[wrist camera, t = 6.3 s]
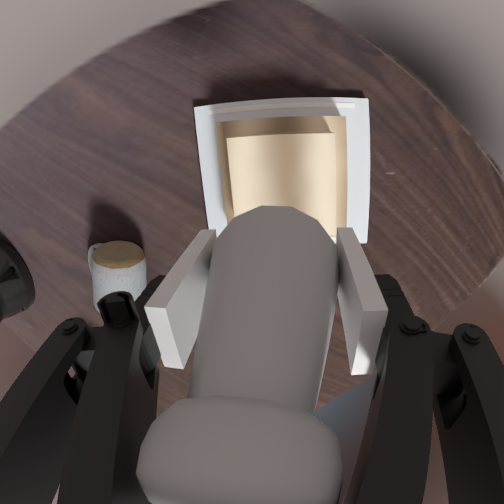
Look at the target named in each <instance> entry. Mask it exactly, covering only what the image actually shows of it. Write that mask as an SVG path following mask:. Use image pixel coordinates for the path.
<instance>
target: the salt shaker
mask: <svg viewBox="0 0 504 504" xmlns="http://www.w3.org/2000/svg"><path fill="white" fill-rule="evenodd" d="M339 279H340V265H339V255H338V247H337V245H336V244H335V243H334V241H333V240H332V239H331V237H330V236H329V235H328V233H327V232H326V231H325V229H324V228H323V227H322V225H321V224H320V223H319V221H318V220H317V219H315V218H313V217H311V216H309V215H307V214H305V213H303V212H301V211H300V210H298V209H296V208H294V207H292V206H264V205H261V206H259V207H257V208H254V209H252V210H250V211H247V212H245V213H243V214H241V215H238V216H236V217H234V218H233V219H232V220H231V221H230V222H229V224H228V225H227V226H226V227H225V229H224V230H223V231H222V232H221V234H220V235H219V236H218V237H217V239H216V240H215V241H214V245H213V251H212V257H211V263H210V269H209V274H208V279H207V284H206V290H205V295H204V301H203V306H202V312H201V318H200V323H199V329H198V335H197V341H196V347H195V353H194V360H193V366H192V372H191V379H190V385H189V392H188V399H180V400H178V401H177V402H175V403H174V404H173V405H171V406H170V407H169V408H168V409H166V410H165V411H164V412H162V413H161V414H160V415H159V416H158V417H157V418H156V419H155V420H154V421H153V422H152V424H151V426H150V428H149V430H148V432H147V434H146V436H145V438H144V440H143V442H142V444H141V447H140V452H139V458H138V463H137V469H136V476H137V478H138V481H139V484H140V486H141V488H142V490H143V492H144V493H145V495H146V497H147V499H148V501H149V502H150V503H152V504H338V502H339V497H340V492H341V487H342V476H343V468H342V458H341V450H340V443H339V441H338V439H337V437H336V435H335V433H334V431H333V430H331V429H330V428H329V427H327V426H326V425H325V424H324V423H322V422H321V421H320V420H318V419H317V418H316V417H314V412H315V408H316V403H317V399H318V395H319V390H320V386H321V381H322V377H323V372H324V367H325V362H326V357H327V352H328V347H329V341H330V336H331V330H332V325H333V319H334V313H335V306H336V300H337V293H338V286H339Z"/></svg>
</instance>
